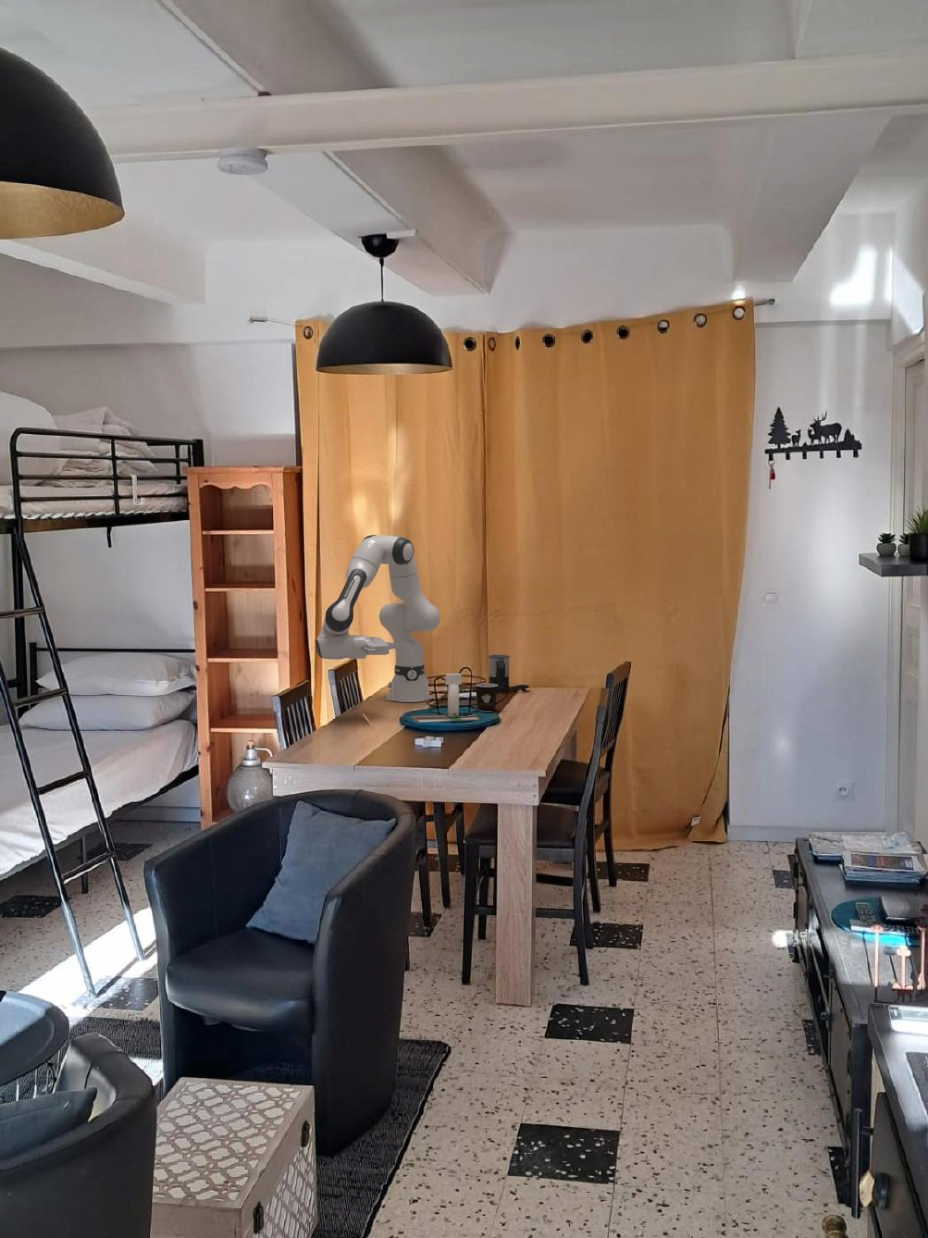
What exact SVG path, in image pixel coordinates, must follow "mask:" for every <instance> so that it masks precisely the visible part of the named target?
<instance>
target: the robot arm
mask: <svg viewBox="0 0 928 1238" xmlns="http://www.w3.org/2000/svg"><path fill="white" fill-rule="evenodd" d="M414 549H415V548H414V545H413V543H412V541H411V540H410V539H408V538H406V537H403V536H396V535H389V534H387V535H381V534H380V535H376V534H370V535H368V536H365V537H364V538H363V539H362V541H361V542H360V544H359V545H358V546H357V548H356V549H355V551H354V553H353V555H352V556H351V558H350V560H349V563H348V565H347V567H346V573H345V579H346V580H345V583H344V586H343V588H342V590H341V591H340V593H339V596H338V598H337V599H336V600H335V601H334V602H333V603H332V604H330V605H329V606H328V608H327V609H326V611H325V614H324V615H325V616H324V617H325V618H324V621H323V625H322V627H321V630H320V632H319V634H318V635H317V637H316V638H315V643H314V644H315V649H316V654H317V656H318V657H319V658H321V659H324V660H333V661H334V660H343V659H349V660H359V659H360V660H362V659H366V658H367V656H376V655H377V656H386V655H389V654H390V650H393V649H394V650H395V665H394V676H393V678H392V679H391V681H390V682H388V689H389V691H388V692H387V694H386V699H385V700H386V701H389V702H390V701H392V702H399V703H417V702H418V703H419V702H425V701H428V700H432V699H433V695H431V694H430V693H429V680H428V679H429V678H428V677H426V676H425V665H424V647H423V645H422V643H421V642H420V641H418V640H417V639H416V638H414V636H413V634H412V632H423V633H424V632H430V631H435V630H436V629H437V628H438V627H439V625H440V622H441V614H440V611H439V609H438V608H437V607H436V606H435V605H433V604H432V603H431V602H430V600H428V598H426V597H425V595H424V593H423V591H422V589H421V585H420V581H419V576H418V575H419V574H418V573H419V572H418V568H417V563H416V559H415V555H414V554H415V553H414V552H415V550H414ZM382 564H383V565H388V571H389V572H388V574H389V581H390V589H391V592H392V594H393V595H394V596H395V597H397V598H398V599H400V600H401V601H402V602H403V603H402V602H393V603H386V604H384V605H383V606H382V607H381V609H380V610H379V614H378V618H379V623H380V625H381V626H382V627H383V628H385V630H387V632H388V633H389V635H390V636H391V638H392V641H393V642H389V641H385V640H383V638H381V637H376V636H366V635H365V634H350V632H349V630H350V628H351V625H352V623H353V621H354V607H355V604H356V602H357V601H358V600H357V599H359V596H360V594H361V592H362V590H363V589H364V588H368V587H369V586H370V585H371V584H372V582H373V581H374V579H375V578H376V576H377V574H378V572H379V569H380V567H381V565H382Z"/></svg>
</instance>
